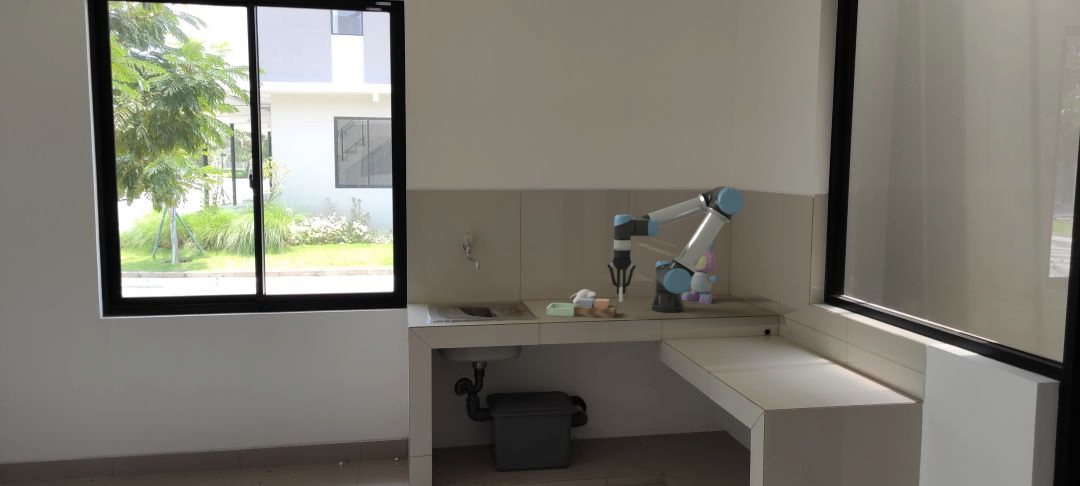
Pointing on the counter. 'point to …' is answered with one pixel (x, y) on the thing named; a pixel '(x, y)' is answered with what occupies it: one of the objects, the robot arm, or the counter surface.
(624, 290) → the robot arm
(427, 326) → the counter surface
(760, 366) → the counter surface
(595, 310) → the board
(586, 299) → the tile
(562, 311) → the tray
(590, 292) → the toy
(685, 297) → the toy
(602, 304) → the tile
